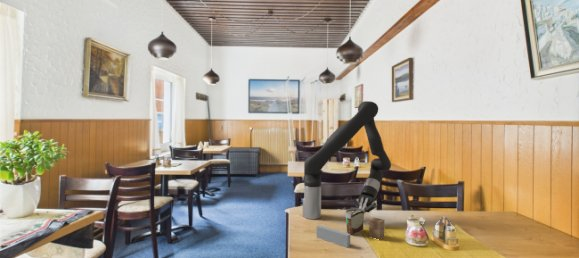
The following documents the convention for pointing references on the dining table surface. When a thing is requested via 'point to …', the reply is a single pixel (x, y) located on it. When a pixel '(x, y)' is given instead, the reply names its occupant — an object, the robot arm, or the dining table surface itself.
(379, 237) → the walnut block
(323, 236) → the rail
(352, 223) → the food container
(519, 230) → the dining table surface
